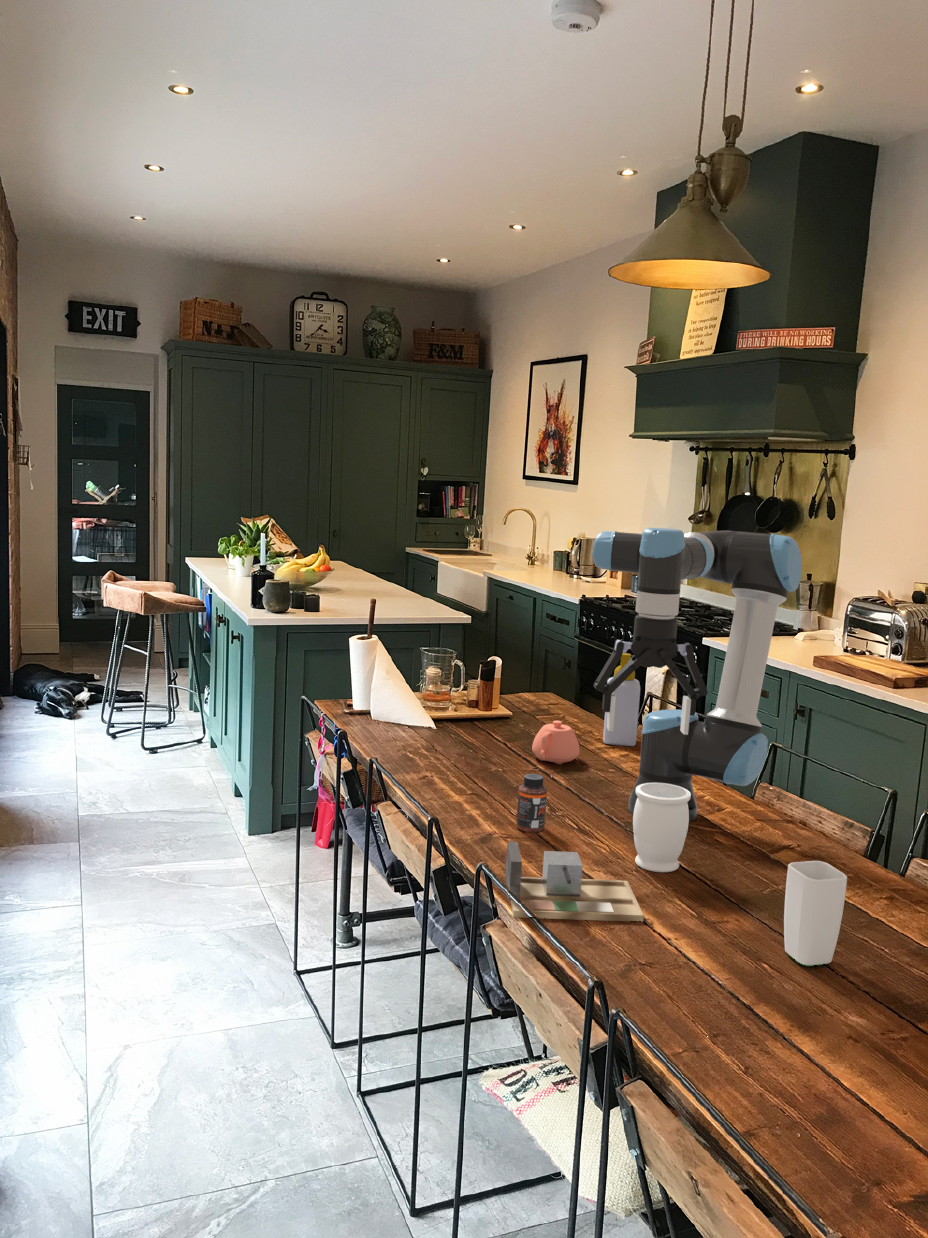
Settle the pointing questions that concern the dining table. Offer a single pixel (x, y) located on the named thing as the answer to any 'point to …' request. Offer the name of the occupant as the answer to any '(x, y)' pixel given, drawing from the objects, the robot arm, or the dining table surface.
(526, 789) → the supplement bottle
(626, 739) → the soap bottle
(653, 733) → the robot arm
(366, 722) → the dining table surface
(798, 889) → the cup
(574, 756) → the sugar bowl
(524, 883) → the gauge board
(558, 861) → the block
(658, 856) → the jar
